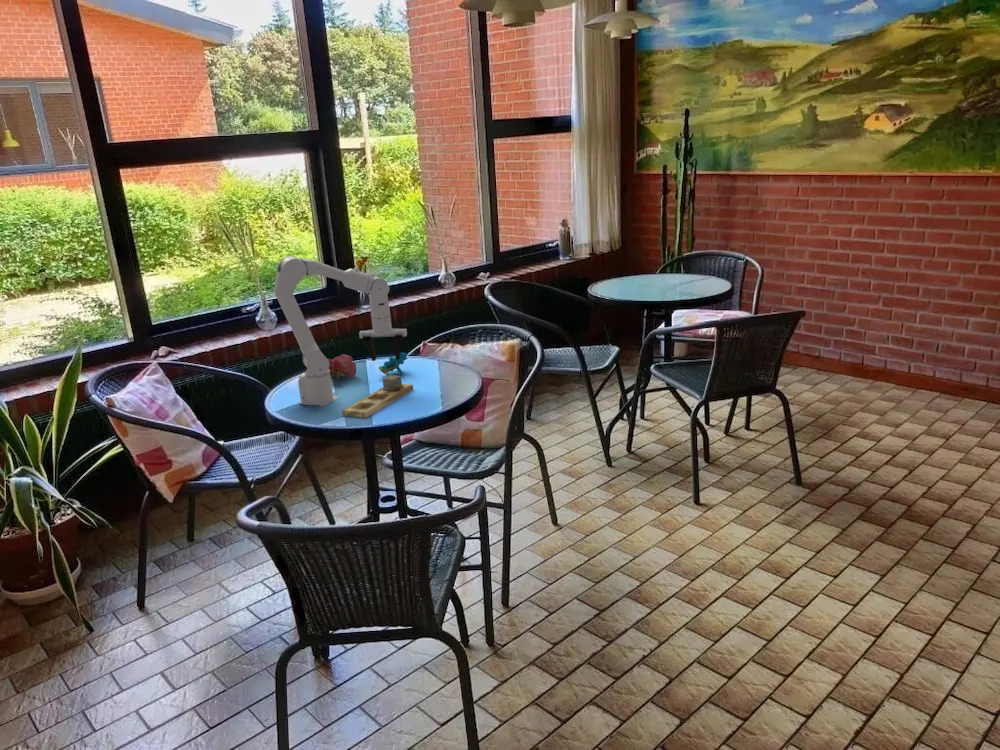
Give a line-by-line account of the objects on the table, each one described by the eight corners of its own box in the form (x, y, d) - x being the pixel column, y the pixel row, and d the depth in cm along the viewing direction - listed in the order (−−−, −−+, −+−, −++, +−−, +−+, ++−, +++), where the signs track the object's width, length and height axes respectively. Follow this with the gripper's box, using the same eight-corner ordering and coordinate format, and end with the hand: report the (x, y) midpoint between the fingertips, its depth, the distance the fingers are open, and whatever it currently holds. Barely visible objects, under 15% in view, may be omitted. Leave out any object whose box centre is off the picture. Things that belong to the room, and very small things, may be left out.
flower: (328, 386, 250) (336, 358, 253) (353, 390, 247) (361, 361, 249) (309, 376, 240) (318, 347, 242) (335, 380, 236) (344, 350, 239)
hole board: (343, 416, 210) (342, 409, 209) (391, 388, 231) (390, 382, 231) (366, 419, 206) (365, 412, 206) (413, 390, 228) (412, 384, 227)
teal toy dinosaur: (401, 362, 253) (408, 346, 245) (411, 376, 251) (418, 360, 244) (374, 375, 247) (380, 359, 239) (383, 388, 245) (390, 373, 237)
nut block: (384, 394, 224) (382, 379, 223) (391, 390, 228) (389, 375, 226) (395, 395, 223) (393, 379, 221) (402, 391, 226) (400, 375, 225)
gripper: (353, 320, 222) (359, 364, 226) (401, 318, 221) (406, 362, 225) (360, 315, 229) (366, 357, 233) (406, 313, 227) (411, 355, 231)
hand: (386, 359), depth 229 cm, fingers open, 7 cm apart
